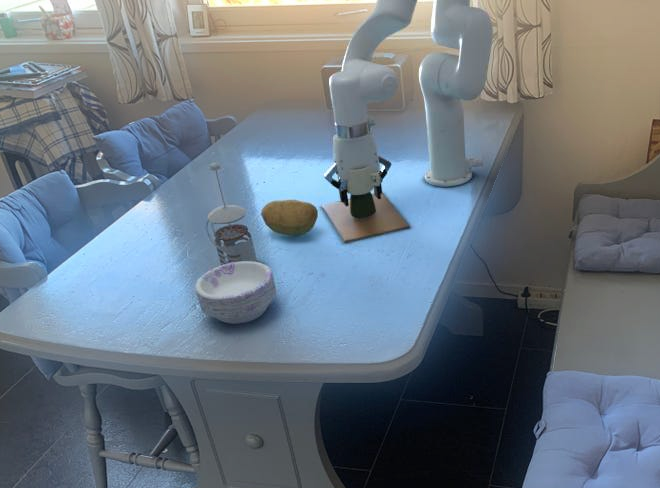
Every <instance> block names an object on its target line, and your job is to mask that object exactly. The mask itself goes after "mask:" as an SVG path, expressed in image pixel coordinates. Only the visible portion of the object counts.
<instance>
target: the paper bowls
mask: <svg viewBox="0 0 660 488" xmlns="http://www.w3.org/2000/svg"><path fill="white" fill-rule="evenodd" d="M194 289H195V293H196V297H197V300H198V303H199V306H200V309H201V311H202V313H203V314H205V315H206V316H208V317H210V318H214V319H217V320H219V321H220V322H222V323H226V324H230V325H236V324H237V325H239V324H245V323H249V322H251V321H254V320H256V319H258V318H259V317H261V316H262V315H263V314H264V313H265V312H266V311H267V309H268V306H270V305H271V304H272V303H273V302H274V301H275V298H276V297H277V288H276V284H275V279H274V274H273V271H272V269H271V268H270V267H269V266H268V265H266V264H264V263H262V262H260V261H257V262H253V261H241V262H233V263H228V264H227V263H226V264H225V265H221V264H220V265H218V266H216V267H213V268H212V269H209V270H208V271H206V272H205V273H203V274H202V275H201V276H200V277H199V278H198V279H197V280H196V283H195V286H194Z"/></svg>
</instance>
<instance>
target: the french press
mask: <svg viewBox="0 0 660 488" xmlns="http://www.w3.org/2000/svg"><path fill="white" fill-rule="evenodd" d="M220 168H221V167H220V164H219V163H218V162H212V163H211V164H210V166H209V169H210V170H211V171H215V175H216V179H217V183H218V187H219V192H220V195H221V200H222V203H223V205H220V206H219V207H216V208H214V209H213V210H211V211H210V212H209V213H208V215H207V217H206V218H207V221H206V224H205V229H206V234H207V237H208V238H209V240H210V242H211V243H212V244H213V245H214V247H215V249H216V251H217V255H218V258H219V263H220V266H221V265H225V264H228V263H233V262H241V261H253V262H258V261H257V260H258V259H257V256H256V251H255V247H254V241H253V238H252V234H251V233H250V232H249V228H248V227H247V226H246V225H244V224H240V223H237V222H239V221H241V220H243V218H245V217H246V215H247V210H246V208H244V207H242V206H240V205H235V204H227V205H226V203H225V199H224V195H223V191H222V186H221V183H220V179H219V175H218V170H220ZM209 222H210V223H211V228H212V232H213V234H214V235H213V236H214V237H215V239H214V240H212V238H211V236H210V233H209V229H208V224H209ZM214 225H224V226H221V227H219V228H217V230H215V228H214ZM242 240H243V241H242ZM238 241H241V242H238ZM236 242H238V243H236ZM225 254H226V255H225Z"/></svg>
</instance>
